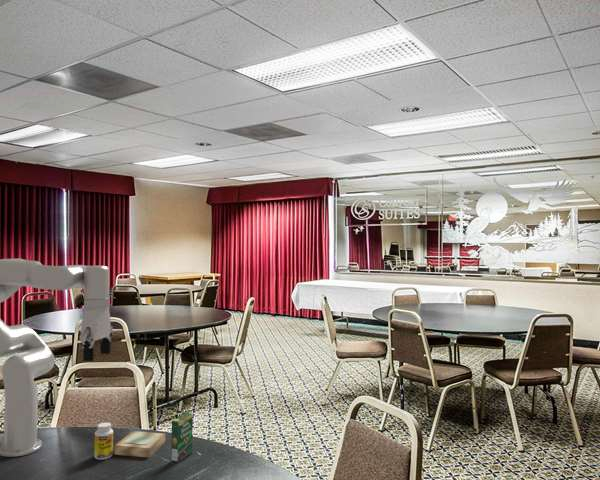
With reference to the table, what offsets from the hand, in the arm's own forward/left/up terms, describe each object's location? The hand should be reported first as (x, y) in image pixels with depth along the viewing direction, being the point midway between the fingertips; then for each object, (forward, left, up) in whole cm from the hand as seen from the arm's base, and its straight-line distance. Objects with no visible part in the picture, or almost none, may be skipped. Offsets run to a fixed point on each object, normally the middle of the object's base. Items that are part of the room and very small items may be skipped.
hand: (97, 357), depth 156 cm
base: (+12, +8, -32) cm, 35 cm away
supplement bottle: (+3, 0, -32) cm, 32 cm away
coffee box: (+28, +4, -32) cm, 42 cm away
